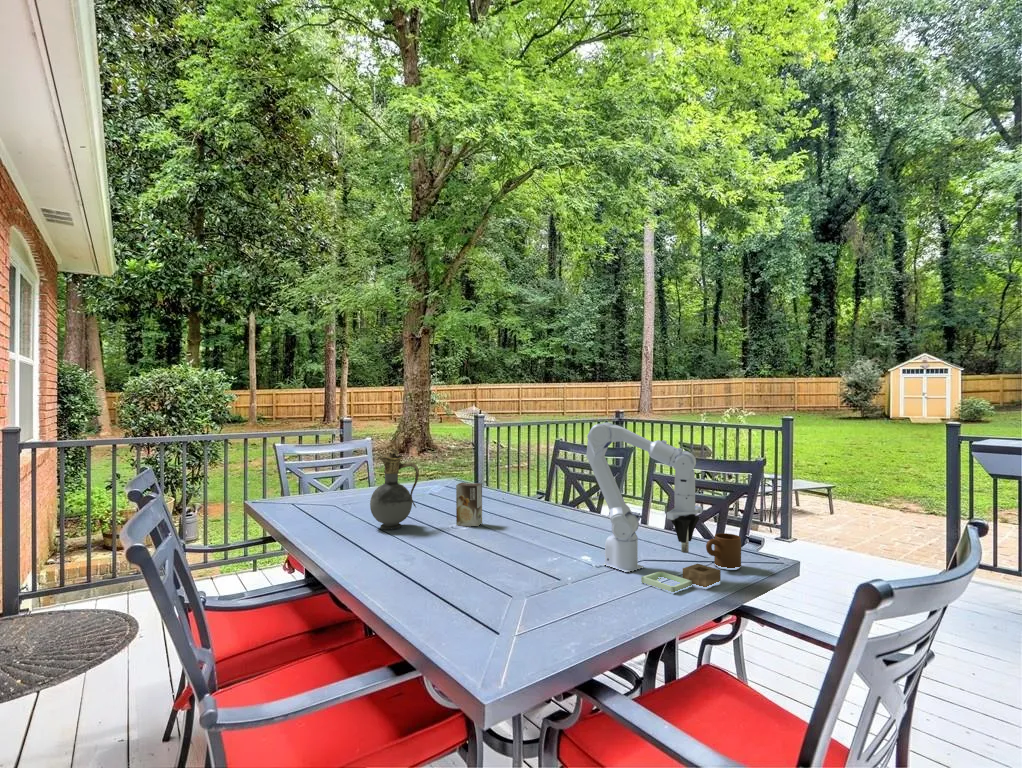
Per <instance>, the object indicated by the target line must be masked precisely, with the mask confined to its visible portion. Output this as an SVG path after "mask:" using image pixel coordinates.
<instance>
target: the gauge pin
mask: <svg viewBox="0 0 1022 768" xmlns="http://www.w3.org/2000/svg"><path fill="white" fill-rule="evenodd" d="M689 542H690V541H689V526H688V531H687V540H686V543H682V542H680V543H681V544H680V547H681V553H683V554H687V553H688V554H689V547H690V546H689V544H690V543H689Z"/></svg>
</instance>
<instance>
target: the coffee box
mask: <svg viewBox="0 0 1022 768" xmlns="http://www.w3.org/2000/svg"><path fill="white" fill-rule="evenodd" d="M455 489H456V490H455V491H456V492H455V493H456V495H455V496H456V497H455V501H456V504H455V505H456V508H455V509H456V510H455V512H456V513H455V514H456V515H455V516H456V520H455V521H456V526H457V525H458V526H459V527H460V526H461V527H471V526H478V527H480V526H481V525H482V524H483V484H482V483H479V482H459V483H457V484H456V485H455ZM481 523H482V524H481ZM480 524H481V525H480ZM479 525H480V526H479Z"/></svg>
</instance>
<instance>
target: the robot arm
mask: <svg viewBox="0 0 1022 768" xmlns="http://www.w3.org/2000/svg"><path fill="white" fill-rule="evenodd" d="M586 438H587V443H586V445H587V447H586V458H587V460H588V463H589V465H590V468H591V471H592V472H593V475H594V477H595V479H596V482H597V484H598V486H599V489H600V491H601V493H602V496H603V498H604V500H605V503H606V505H607V507H608V510H609V520H610V523H611V532H612V533H611V535H608V537H607V538H606V539H605V543H604V563H603V565H602V566H604V565H606V566H605V567H607V566H610V567H613V568H616V569H619V570H622V571H624V572H623V573H625V572H629V573H631V572H630V571H632V572H635V571H634V570H636V571H638V570H637V569H639V570H641V569H640V568H642V567H644V566H643V565H640V564H639V563H638V556H639V555H638V551H639V549H638V548H639V547H638V546H639V545H638V542H639V541H638V540H639V539H638V538H639V537H638V535H637V533H636V532H637V531H638V529H639V528H640V522H639V519H638V517H637V516H636V515H635V513H633V512H632V511H631V508H630V507H629V505H627V504H626V502H625V500H624V498H623V495H622V493H621V491H620V489H619V486H618V484H617V482H616V479H615V477H614V475H613V473H612V470H611V467H610V465H609V464H608V460H607V459H606V458H607V457H606V456H605V455H606V452H607V451H608V448H609V446H610V445H611V444H612V443H619V442H624V443H626V444H629V445H631V446H634V447H636V448H639V449H641V450H643V451H646V452H647V453H648V455H649V457H650V458H651V459H653V460H655V461H658V462H659V463H661V464H664V465H666V466H668V467H673V469H674V496H673V497H674V508H672V509H671V510H669V511H667V512H666V519H667V520H670V522H671V523H672V526H673V527H674V529H675V533H676V537H677V541H678V543H679V542H680V543H681V542H682V543H686V540H687V531H688V526H689V542H691V541H692V539H693V535H694V531H695V528H696V526H697V524H698V522H699V521H700V516H699V515H700V514H702V513H703V506H699V505H696V478H695V476H696V475H695V474H696V473H695V467H696V465H697V459H696V457H695V455H694V454H693V453H691V452H690V451H688V450H683V448H682V447H678V448H677V447H675V446H673V445H670V444H669V443H668V442H667V440H664V439H662V440H659V439H657V440H655V441H652V440H649V439H647V438H645V437H644V436H641V435H639V434H638V433H635V432H633V431H631V430H629V429H627V428H626V427H622V426H621V425H617V424H614V423H612V422H608V421H607V422H602V423H597V424H596V423H595V424H594V425H593V426H592V427H591V428H590V430H589V431H588V433H587V436H586ZM698 514H699V515H698ZM610 567H609V568H610ZM613 568H612V569H613ZM644 568H645V567H644ZM616 569H615V570H616ZM642 569H643V568H642ZM619 570H618V571H619ZM622 571H621V572H622Z"/></svg>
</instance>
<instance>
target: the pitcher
mask: <svg viewBox="0 0 1022 768" xmlns="http://www.w3.org/2000/svg"><path fill="white" fill-rule="evenodd" d="M398 450H399V449H397V448H396V449H395V448H392V450H389V451H388V455H385V456H382V455H379V456H378V457H376V458H375V460H376V461H378V460H381V462H382V463H383V467H384V471H383V472H384V483H383V484H381V485H379V486H378V487H376V488H375V490H374V491H373V493H372V494H371V496H370V500H369V507H370V512H371V514H372V517H373V518H374V519H375V520H376V521H378V522H379V523H381V524H380V529H381V528H382V530H385V529H393V530H396V529H395V528H398V529H400V528H399V527H401V528H402V524H401V522H403V521H405V520H406V519H407V518H408V517H409V515H410V513H411V512H412V506H413V507H415V508H417V506H416V503H415V502H414V500H413V492H414V489H415V487H416V485H417V483H418V480H419V477H420V469H419V467H418V466H417V464H416V463H415V462H410V461H409V462H404V463H401V460H402V458H403V457H404V455H405V454H404V453H400V451H398ZM399 453H400V454H399ZM406 467H412V468H413V469H414V471H415V478H414V483H413V485H412V488H411V489H410V490H409V489H408V488H407V487H406V486H404V485H402V484H400V483H399V472H400V470H401V469H404V468H406Z"/></svg>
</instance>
